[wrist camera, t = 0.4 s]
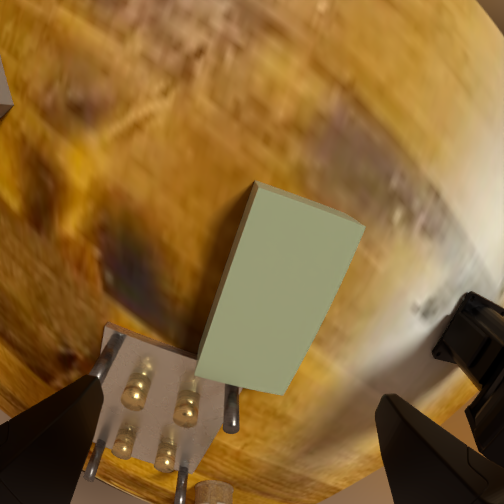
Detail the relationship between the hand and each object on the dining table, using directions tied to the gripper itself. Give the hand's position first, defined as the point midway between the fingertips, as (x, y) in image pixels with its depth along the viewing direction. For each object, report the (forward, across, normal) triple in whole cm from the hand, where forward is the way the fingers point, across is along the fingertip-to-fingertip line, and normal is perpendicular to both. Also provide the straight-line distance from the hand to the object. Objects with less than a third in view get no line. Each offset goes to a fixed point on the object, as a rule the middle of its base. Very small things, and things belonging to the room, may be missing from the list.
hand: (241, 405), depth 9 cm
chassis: (+12, +7, +14) cm, 20 cm away
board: (+13, -2, +1) cm, 13 cm away
